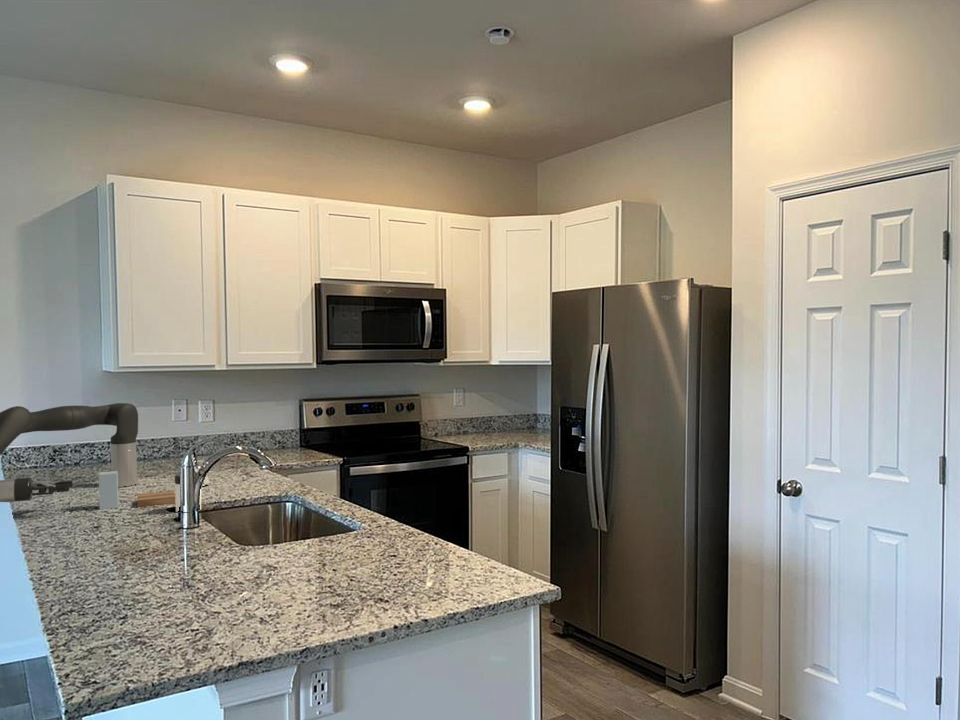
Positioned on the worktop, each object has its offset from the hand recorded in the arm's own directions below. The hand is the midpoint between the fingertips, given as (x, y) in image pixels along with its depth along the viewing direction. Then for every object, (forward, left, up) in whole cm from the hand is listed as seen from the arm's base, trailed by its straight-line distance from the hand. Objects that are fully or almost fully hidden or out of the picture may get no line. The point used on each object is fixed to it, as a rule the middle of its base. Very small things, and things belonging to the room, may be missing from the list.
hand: (70, 485), depth 244 cm
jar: (+19, +36, -9) cm, 42 cm away
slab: (0, +26, -9) cm, 28 cm away
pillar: (0, +11, -9) cm, 14 cm away
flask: (-26, +42, -9) cm, 51 cm away
